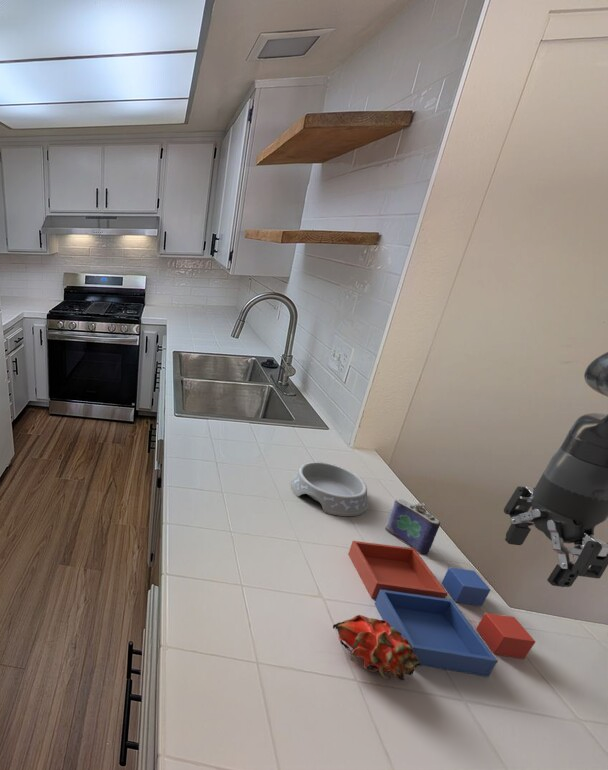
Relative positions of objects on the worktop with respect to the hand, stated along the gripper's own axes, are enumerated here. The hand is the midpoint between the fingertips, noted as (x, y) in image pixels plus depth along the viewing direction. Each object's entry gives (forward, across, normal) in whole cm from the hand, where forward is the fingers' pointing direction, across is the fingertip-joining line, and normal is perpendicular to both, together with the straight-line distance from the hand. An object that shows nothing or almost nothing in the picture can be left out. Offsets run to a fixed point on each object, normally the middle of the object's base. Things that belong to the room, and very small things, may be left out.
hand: (533, 562), depth 63 cm
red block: (+17, -2, 0) cm, 17 cm away
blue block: (+17, +8, 0) cm, 19 cm away
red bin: (+17, +9, +12) cm, 23 cm away
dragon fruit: (+18, -10, +24) cm, 31 cm away
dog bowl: (+17, +37, +16) cm, 43 cm away
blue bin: (+17, -3, +12) cm, 21 cm away
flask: (+17, +22, +4) cm, 28 cm away
